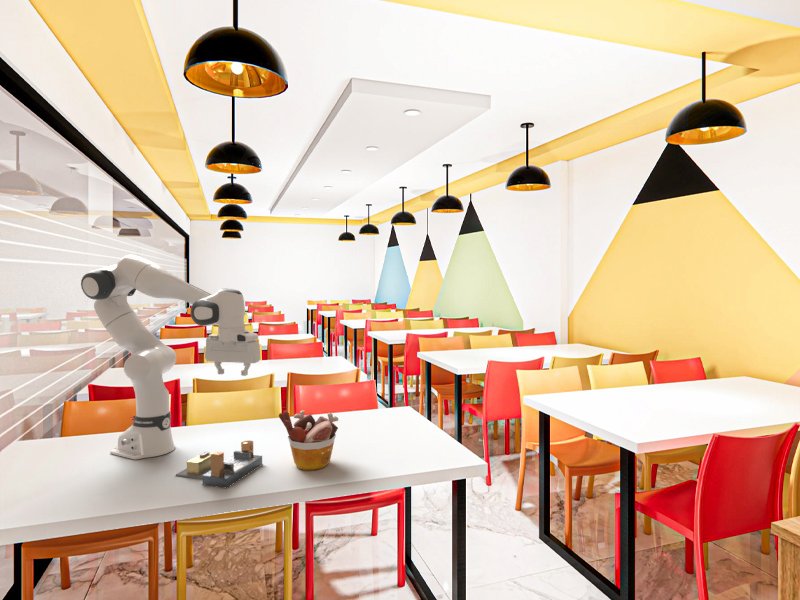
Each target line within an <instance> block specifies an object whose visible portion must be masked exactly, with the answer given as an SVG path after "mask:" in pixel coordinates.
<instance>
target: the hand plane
mask: <svg viewBox="0 0 800 600" xmlns="http://www.w3.org/2000/svg"><path fill="white" fill-rule="evenodd" d="M240 447H241V448H240V450H241V451H239V450H234V451H233V455H232V456H230V457H228V458H226V459H224V458H225V456H224V454H225V452H224V451H213V452H211V453H210V454H211V471H209V472H207V473H205V474H204V475H202V479H201V481H202V483H201V485H202V486H208V487H209V486H210V487H215V486H218V487H217V488H223V487H226V488H225V489H228V488H230V487H231V486H232V484H233V483H234V484H236V483H237V482H238V481H240V480H241V479H243V478H244V477H246V476H247V475H249V474H250V473H252V472H253V471H255V470H257V467H258V468H260V467H261V466H262V465H263V455H258V454H254V441H253V440H244V441H241V443H240ZM260 465H261V466H260ZM254 469H255V470H254ZM251 471H252V472H251ZM248 473H249V474H248ZM245 475H246V476H245ZM242 477H243V478H242ZM239 479H240V480H239ZM236 481H237V482H236ZM234 484H233V485H234ZM230 485H231V486H230ZM229 486H230V487H229ZM227 487H228V488H227Z"/></svg>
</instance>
